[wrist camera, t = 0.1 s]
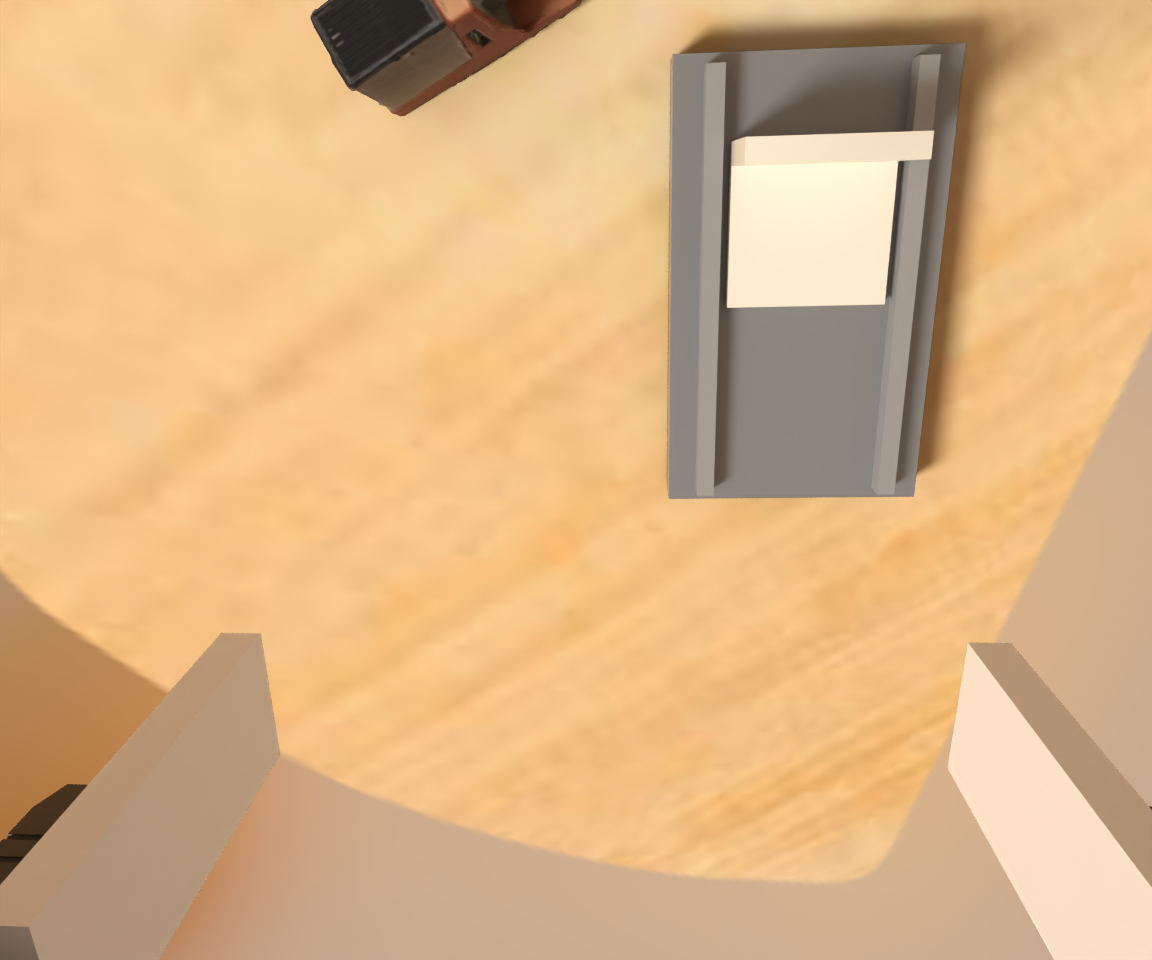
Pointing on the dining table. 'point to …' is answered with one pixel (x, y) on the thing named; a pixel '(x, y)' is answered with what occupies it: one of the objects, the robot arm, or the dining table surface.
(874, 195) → the shutter
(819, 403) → the socket board
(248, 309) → the dining table surface
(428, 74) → the electronic device
